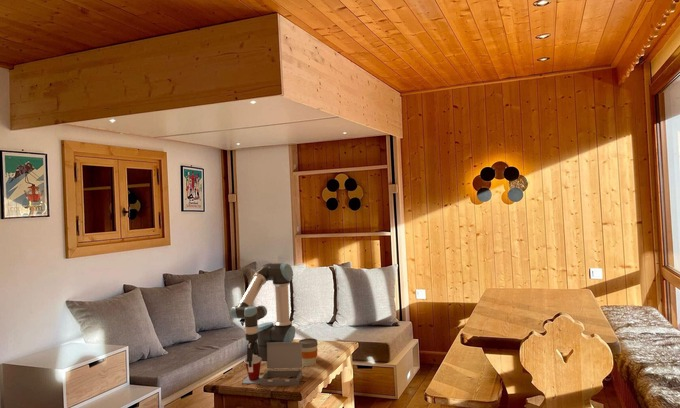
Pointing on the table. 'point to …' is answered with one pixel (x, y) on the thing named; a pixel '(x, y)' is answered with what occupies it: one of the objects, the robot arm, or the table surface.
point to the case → (281, 381)
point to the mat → (252, 381)
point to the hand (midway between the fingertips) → (253, 368)
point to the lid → (284, 355)
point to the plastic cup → (254, 368)
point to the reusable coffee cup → (309, 351)
